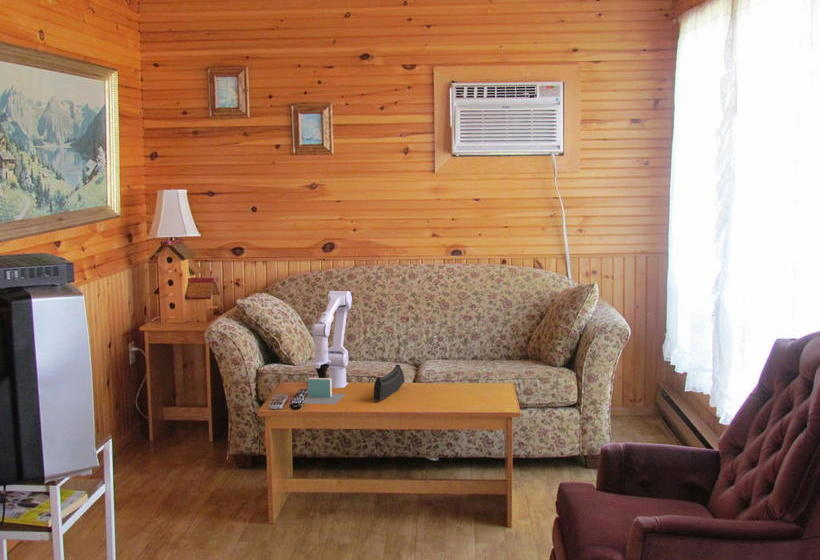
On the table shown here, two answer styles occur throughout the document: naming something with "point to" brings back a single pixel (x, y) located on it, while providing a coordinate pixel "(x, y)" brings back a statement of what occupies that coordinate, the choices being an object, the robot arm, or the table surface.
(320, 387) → the tile
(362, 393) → the table surface
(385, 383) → the magazine
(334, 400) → the mat
